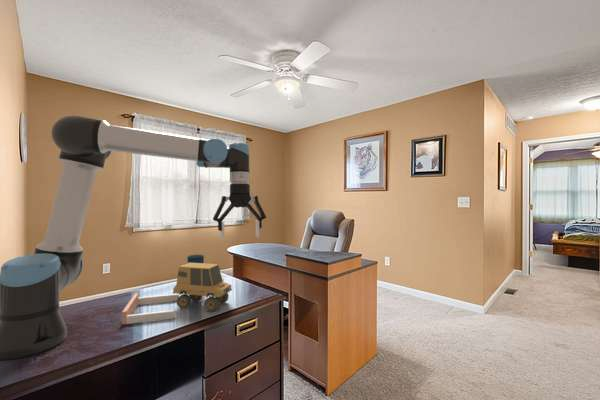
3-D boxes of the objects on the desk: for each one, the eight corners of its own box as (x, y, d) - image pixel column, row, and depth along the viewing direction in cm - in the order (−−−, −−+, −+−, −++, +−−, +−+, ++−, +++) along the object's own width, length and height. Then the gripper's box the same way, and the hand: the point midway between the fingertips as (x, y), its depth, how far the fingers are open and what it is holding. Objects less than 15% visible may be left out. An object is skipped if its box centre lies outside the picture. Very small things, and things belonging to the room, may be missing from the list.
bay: (121, 324, 88) (122, 311, 88) (134, 304, 105) (135, 293, 105) (174, 318, 93) (174, 306, 93) (178, 299, 111) (178, 289, 111)
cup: (201, 287, 127) (202, 253, 127) (205, 291, 121) (205, 256, 121) (185, 289, 123) (186, 255, 123) (188, 293, 118) (188, 258, 118)
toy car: (219, 313, 98) (220, 270, 98) (171, 308, 102) (171, 267, 102) (232, 302, 108) (232, 264, 108) (188, 298, 112) (188, 261, 112)
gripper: (207, 182, 100) (208, 241, 100) (273, 183, 111) (274, 236, 111) (204, 183, 107) (205, 239, 107) (267, 184, 117) (268, 234, 118)
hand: (240, 238), depth 109 cm, fingers open, 13 cm apart
